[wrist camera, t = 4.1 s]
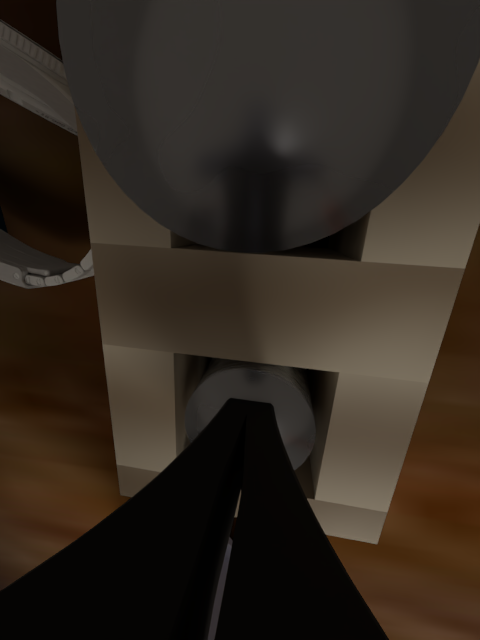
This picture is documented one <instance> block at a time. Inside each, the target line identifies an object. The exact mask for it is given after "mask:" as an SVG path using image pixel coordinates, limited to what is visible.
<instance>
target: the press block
mask: <svg viewBox="0 0 480 640" xmlns="http://www.w3.org/2000/svg"><path fill="white" fill-rule="evenodd" d="M74 107H75V105H74ZM75 116H76V124H77V133H78V141H79V150H80V158H81V167H82V175H83V184H84V192H85V201H86V209H87V217H88V226H89V234H90V243H91V251H92V260H93V268H94V277H95V285H96V294H97V302H98V311H99V319H100V328H101V336H102V345H103V353H104V361H105V370H106V378H107V387H108V395H109V404H110V412H111V421H112V429H113V438H114V446H115V455H116V463H117V472H118V480H119V489H120V495H123V496H128V497H133V496H134V495H135V494H136V493H138V492H139V491H140V490H141V489H142V488H144V487H145V486H146V485H147V484H148V483H149V482H151V481H152V480H153V479H154V478H155V477H156V476H157V475H158V474H159V473H161V472H162V471H163V470H164V469H165V468H166V467H167V466H168V465H169V464H170V463H171V462H172V461H173V460H174V459H175V458H176V457H177V456H178V455H179V454H180V453H181V452H182V451H183V450H184V449H185V448H186V447H187V446H188V445H189V444H190V441H189V438H188V436H187V433H186V429H185V411H186V406H187V404H188V401H189V399H190V397H191V396H192V394H193V392H194V390H195V388H196V387H197V385H198V383H199V381H200V379H201V378H202V376H203V374H204V372H205V370H206V369H207V367H208V365H209V363H210V361H211V360H212V358H213V357H214V358H223V359H231V360H239V361H248V362H256V363H265V364H273V365H281V366H290V367H298V368H307V369H309V373H308V384H309V390H310V396H311V402H312V408H313V414H314V420H315V426H316V437H315V443H314V446H313V449H312V451H311V453H310V455H309V456H308V458H307V459H306V460H305V462H304V463H303V464H302V465H301V466H299V467H298V468H297V469H296V470H294V471H295V474H296V476H297V478H298V480H299V483H300V485H301V487H302V489H303V491H304V493H305V496H306V498H307V500H308V502H309V504H310V506H311V508H312V510H313V512H314V514H315V516H316V518H317V520H318V522H319V523H320V525H321V527H322V529H323V531H324V533H325V534H326V535H331V536H337V537H342V538H347V539H352V540H357V541H363V542H368V543H373V544H377V543H378V540H379V537H380V534H381V531H382V527H383V524H384V521H385V518H386V515H387V512H388V509H389V505H390V502H391V499H392V496H393V493H394V490H395V487H396V483H397V480H398V477H399V474H400V471H401V468H402V465H403V461H404V458H405V455H406V452H407V449H408V446H409V443H410V440H411V436H412V433H413V430H414V427H415V424H416V421H417V418H418V414H419V411H420V408H421V405H422V402H423V399H424V396H425V392H426V389H427V386H428V383H429V380H430V377H431V374H432V370H433V367H434V364H435V361H436V358H437V355H438V352H439V349H440V345H441V342H442V339H443V336H444V333H445V330H446V327H447V323H448V320H449V317H450V314H451V311H452V308H453V305H454V301H455V298H456V295H457V292H458V289H459V286H460V283H461V280H462V276H463V273H464V270H465V267H466V264H467V261H468V258H469V254H470V251H471V248H472V245H473V242H474V239H475V236H476V232H477V229H478V226H479V223H480V59H479V62H478V65H477V67H476V69H475V72H474V74H473V76H472V78H471V81H470V83H469V85H468V87H467V90H466V92H465V94H464V96H463V99H462V101H461V102H460V104H459V106H458V108H457V109H456V111H455V113H454V115H453V116H452V118H451V120H450V122H449V123H448V125H447V127H446V129H445V130H444V132H443V133H442V135H441V136H440V138H439V139H438V140H437V142H436V143H435V145H434V146H433V147H432V149H431V150H430V152H429V153H428V154H427V156H426V157H425V159H424V160H423V161H422V162H421V163H420V164H419V165H418V167H417V168H416V169H415V170H414V171H413V172H412V173H411V175H410V176H409V177H408V178H407V179H406V180H405V181H404V182H403V184H401V185H400V186H399V187H398V188H397V189H396V190H395V191H394V192H393V193H392V194H390V195H389V196H388V197H387V198H386V199H385V200H384V201H383V202H382V203H381V204H379V205H378V206H377V207H375V208H374V209H372V210H371V211H370V212H368V213H367V214H366V215H364V216H363V217H361V218H360V219H359V220H357V221H356V222H354V223H352V224H350V225H348V226H347V227H345V228H343V229H341V230H340V231H338V232H336V233H334V234H332V235H330V236H329V242H328V248H317V247H301V246H299V247H295V248H292V249H288V250H281V251H274V252H266V253H240V252H232V251H225V250H219V249H215V248H212V247H208V246H204V245H201V244H198V243H195V242H193V241H191V240H188V239H186V238H184V237H181V236H179V235H177V234H176V233H174V232H172V231H170V230H169V229H167V228H165V227H164V226H162V225H160V224H159V223H158V222H156V221H155V220H154V219H152V218H151V217H150V216H149V215H147V214H146V213H145V212H143V211H142V210H141V209H140V208H139V207H138V206H137V205H136V204H135V203H134V202H133V201H132V200H131V199H130V198H129V197H128V196H127V195H126V194H125V193H124V192H123V191H122V190H121V188H120V187H119V186H118V185H117V183H116V182H115V181H114V180H113V178H112V177H111V176H110V174H109V173H108V172H107V170H106V168H105V167H104V165H103V164H102V162H101V161H100V159H99V157H98V156H97V154H96V153H95V151H94V149H93V147H92V145H91V143H90V141H89V139H88V137H87V135H86V133H85V131H84V129H83V127H82V124H81V121H80V119H79V116H78V113H77V111H76V108H75ZM240 497H241V492H240V496H239V500H238V504H237V508H236V512H235V516H234V517H237V514H238V509H239V503H240Z"/></svg>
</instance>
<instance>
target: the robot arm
mask: <svg viewBox="0 0 480 640" xmlns="http://www.w3.org/2000/svg"><path fill="white" fill-rule="evenodd" d="M240 492H241V497H240V503H239V509H238V514H237V520H236V526H235V531H234V537H233V541H232V539H231V538H230V533H231V529H232V525H233V520H234V516H235V512H236V508H237V504H238V500H239V496H240ZM0 640H389V639H388V637H387V636H386V634H385V632H384V631H383V629H382V628H381V626H380V625H379V623H378V621H377V620H376V618H375V617H374V615H373V613H372V612H371V610H370V609H369V607H368V606H367V604H366V602H365V601H364V599H363V598H362V596H361V594H360V593H359V591H358V590H357V588H356V587H355V585H354V583H353V582H352V580H351V578H350V577H349V575H348V573H347V572H346V570H345V568H344V566H343V565H342V563H341V561H340V559H339V558H338V556H337V554H336V553H335V551H334V549H333V547H332V546H331V544H330V542H329V540H328V538H327V536H326V535H325V533H324V531H323V529H322V527H321V525H320V523H319V522H318V520H317V518H316V516H315V514H314V512H313V510H312V508H311V506H310V504H309V502H308V500H307V498H306V496H305V493H304V491H303V489H302V487H301V485H300V483H299V480H298V478H297V476H296V474H295V471H294V469H293V467H292V464H291V462H290V459H289V456H288V454H287V451H286V449H285V446H284V443H283V440H282V438H281V434H280V431H279V428H278V424H277V421H276V416H275V411H274V406H273V405H272V404H271V403H265V402H258V401H250V400H243V399H236V398H229V399H228V400H227V401H226V402H225V403H224V405H223V406H222V407H221V409H220V410H219V411H218V413H217V414H216V415H215V416H214V418H213V419H212V420H211V421H210V422H209V423H208V425H207V426H206V427H205V428H204V429H203V430H202V431H201V432H200V434H199V435H198V436H197V437H196V438H195V439H194V440H193V441H192V442H191V443H190V444H189V445H188V446H187V447H186V448H185V449H184V450H183V451H182V452H181V453H180V454H179V455H178V456H177V457H176V458H175V459H174V460H173V461H172V462H171V463H170V464H169V465H168V466H167V467H166V468H165V469H164V470H163V471H162V472H161V473H159V474H158V475H157V476H156V477H155V478H154V479H153V480H152V481H151V482H149V483H148V484H147V485H146V486H145V487H144V488H142V489H141V490H140V491H139V492H138V493H136V494H135V495H134V496H133V497H132V498H130V499H129V500H128V501H127V502H126V503H124V504H123V505H122V506H120V507H119V508H118V509H117V510H115V511H114V512H113V513H111V514H110V515H109V516H107V517H106V518H105V519H104V520H102V521H101V522H100V523H98V524H97V525H96V526H94V527H93V528H92V529H90V530H89V531H88V532H86V533H85V534H84V535H82V536H81V537H79V538H78V539H77V540H75V541H74V542H72V543H71V544H70V545H68V546H67V547H65V548H64V549H62V550H61V551H59V552H58V553H56V554H55V555H53V556H52V557H50V558H49V559H48V560H46V561H45V562H43V563H42V564H40V565H39V566H37V567H36V568H34V569H33V570H31V571H30V572H28V573H27V574H25V575H24V576H22V577H21V578H19V579H18V580H16V581H15V582H13V583H12V584H10V585H9V586H7V587H6V588H4V589H3V590H1V591H0Z"/></svg>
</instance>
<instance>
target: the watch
mask: <svg viewBox="0 0 480 640" xmlns="http://www.w3.org/2000/svg"><path fill="white" fill-rule="evenodd" d="M0 94H1V95H3V96H5V97H6V98H8V99H10V100H12V101H14V102H15V103H17V104H19V105H21V106H23V107H24V108H26V109H28V110H30V111H32V112H34V113H35V114H37V115H39V116H41V117H43V118H45V119H47V120H48V121H50V122H52V123H54V124H56V125H58V126H60V127H62V128H64V129H65V130H67V131H69V132H71V133H73V134H75V135H77V136H78V133H77V124H76V116H75V107H74V103H73V100H72V97H71V93H70V89H69V85H68V82H67V78H66V74H65V71H64V65H63V61H62V60H61V59H59V58H58V57H56V56H55V55H53V54H52V53H50V52H49V51H48V50H46V49H45V48H43V47H42V46H40V45H39V44H37V43H36V42H34V41H33V40H31V39H30V38H28V37H27V36H25V35H24V34H22V33H21V32H19V31H18V30H16V29H14V28H13V27H11V26H10V25H8V24H7V23H5V22H4V21H2V20H0ZM80 264H81V265H80ZM80 264H73V263H67V262H66V261H65V260H62V259H59V258H56V257H53V256H50V255H47V254H45V253H42V252H40V251H38V250H36V249H33V248H31V247H29V246H28V245H26V244H24V243H22V242H20V241H19V240H17V239H15V238H14V237H12V236H11V235H9V234H8V232H7V229H6V225H5V221H4V218H3V214H2V210H1V206H0V280H2V281H5V282H8V283H11V284H14V285H17V286H20V287H24V288H28V289H30V288H40V287H46V286H55V285H60V284H64V283H67V282H72V281H75V280H79V279H83V278H87V277H90V276H94V268H93V260H92V251H91V250H90V251H89V252H88V254H87V255H86V256H85V257H84V258H83V260H82V261H81V263H80Z"/></svg>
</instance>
